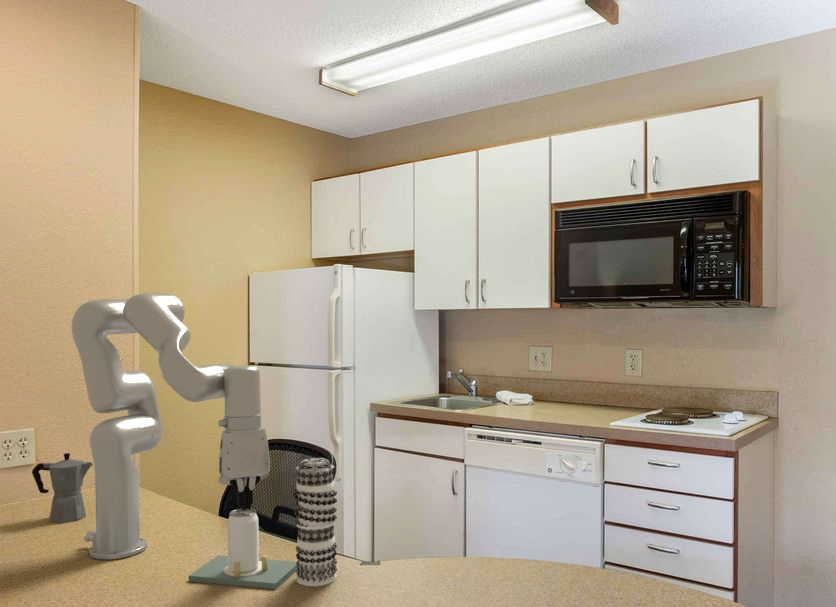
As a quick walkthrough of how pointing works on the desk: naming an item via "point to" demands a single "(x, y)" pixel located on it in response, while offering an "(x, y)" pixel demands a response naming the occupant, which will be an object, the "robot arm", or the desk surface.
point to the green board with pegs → (262, 576)
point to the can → (243, 540)
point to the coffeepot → (64, 488)
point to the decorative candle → (315, 522)
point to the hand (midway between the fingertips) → (245, 508)
